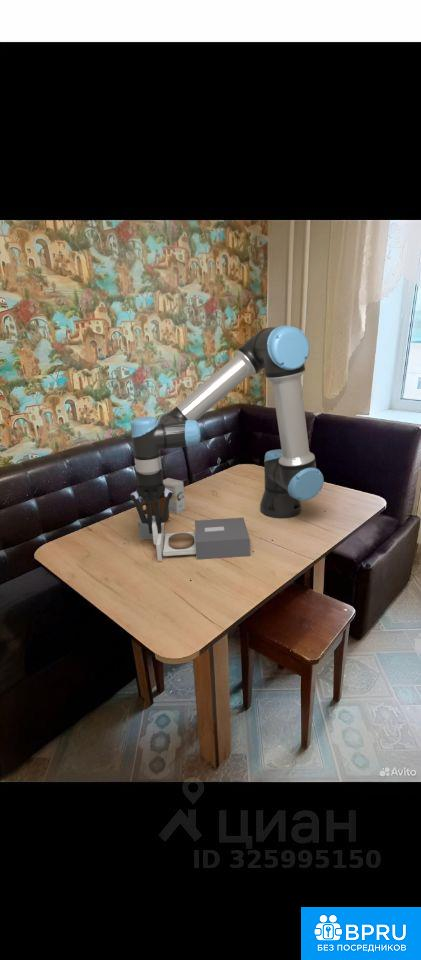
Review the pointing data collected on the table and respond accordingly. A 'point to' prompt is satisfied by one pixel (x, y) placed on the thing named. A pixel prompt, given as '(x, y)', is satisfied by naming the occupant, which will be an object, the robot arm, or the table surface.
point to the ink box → (175, 495)
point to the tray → (167, 549)
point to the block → (145, 529)
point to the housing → (221, 538)
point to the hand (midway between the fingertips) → (156, 542)
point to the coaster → (181, 541)
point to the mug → (161, 504)
